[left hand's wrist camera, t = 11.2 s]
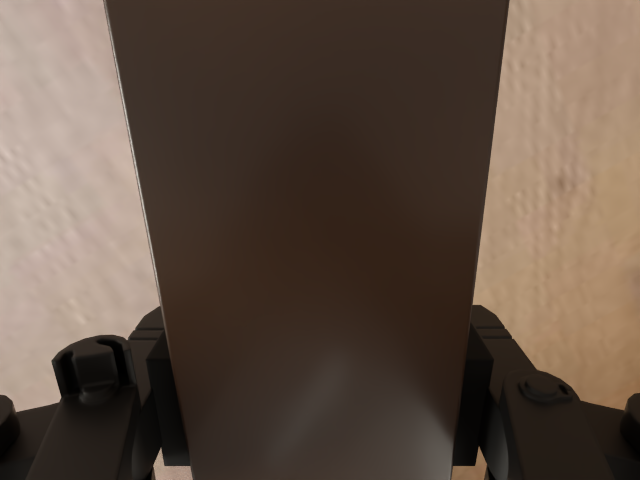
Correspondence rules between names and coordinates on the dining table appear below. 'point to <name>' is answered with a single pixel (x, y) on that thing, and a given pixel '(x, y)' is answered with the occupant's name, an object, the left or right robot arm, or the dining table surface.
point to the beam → (313, 222)
